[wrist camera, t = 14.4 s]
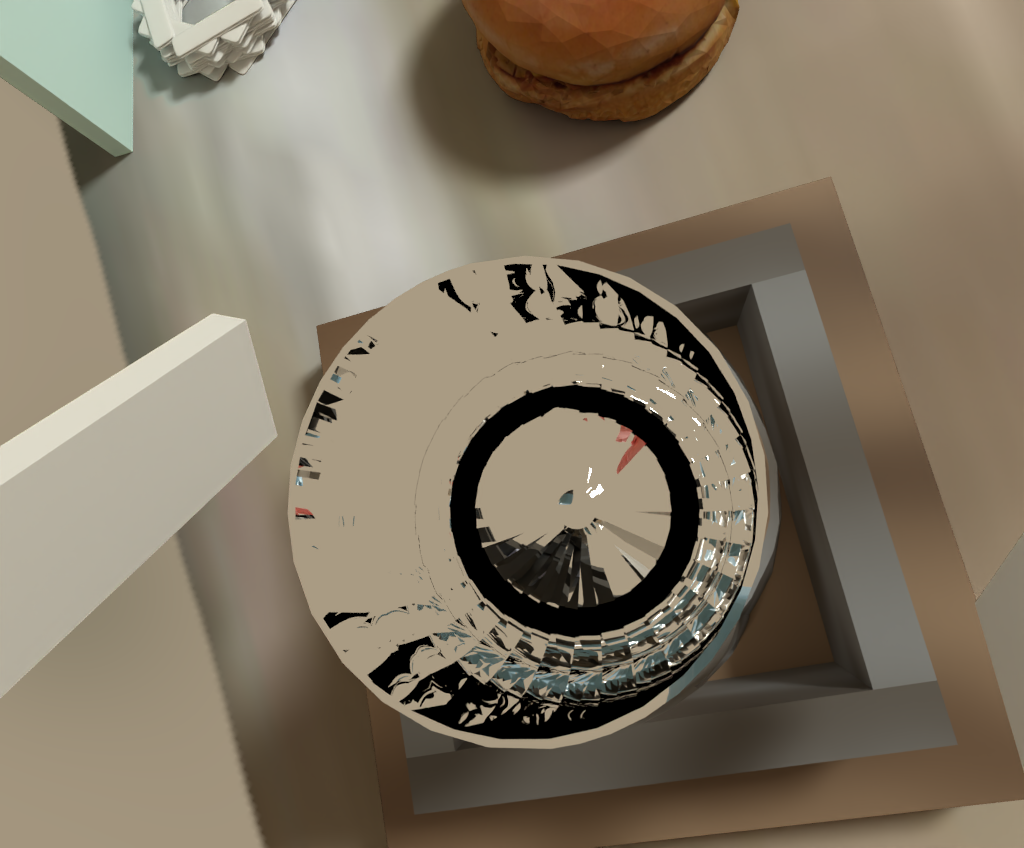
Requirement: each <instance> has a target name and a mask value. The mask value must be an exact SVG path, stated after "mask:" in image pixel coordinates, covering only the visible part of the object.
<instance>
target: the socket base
mask: <svg viewBox="0 0 1024 848" xmlns="http://www.w3.org/2000/svg"><path fill="white" fill-rule="evenodd" d="M552 258H555V259H566V260H578V261H581V262H584V263H587V264H590V265H593V266H596V267H599V268H602V269H606V270H609V271H612V272H615V273H618V274H621V275H624V276H627V277H629V278H631V279H633V280H634V281H636V282H638V283H639V284H641V285H642V286H644V287H646V288H647V289H649V290H651V291H652V292H654V293H655V294H657V295H659V296H660V297H662V298H664V299H665V300H667V301H668V302H670V303H672V304H673V305H675V306H676V307H677V308H678V309H679V310H680V311H681V312H682V313H683V314H684V315H685V316H686V317H687V318H688V319H690V320H691V321H692V322H693V323H694V324H695V325H696V326H698V327H699V328H700V329H701V330H702V331H703V332H704V333H706V334H707V335H708V336H709V337H710V339H711V340H712V341H713V342H714V344H715V345H716V346H717V347H718V348H719V350H720V351H721V352H722V353H723V355H724V356H725V357H726V358H727V360H728V361H729V362H730V363H731V364H732V366H733V367H734V368H735V369H736V371H737V372H738V373H739V375H740V376H741V378H742V380H743V381H744V383H745V386H746V388H747V390H748V392H749V393H750V395H751V397H752V399H753V401H754V402H755V404H756V406H757V408H758V410H759V411H760V413H761V416H762V419H763V422H764V425H765V428H766V431H767V434H768V437H769V440H770V444H771V447H772V450H773V453H774V456H775V459H776V462H777V468H778V477H779V486H780V495H781V509H782V518H781V527H780V536H779V545H778V554H777V560H776V564H775V568H774V571H773V574H772V577H771V579H770V582H769V585H768V588H767V590H766V593H765V596H764V598H763V601H762V604H761V607H760V609H759V612H758V614H757V616H756V618H755V619H754V621H753V622H752V624H751V626H750V627H749V629H748V630H747V632H746V634H745V635H744V637H743V638H742V640H741V641H740V643H739V645H738V646H737V648H736V649H735V651H734V652H733V654H732V655H731V656H730V657H729V658H728V660H727V661H726V662H725V663H724V664H723V665H722V666H721V667H720V668H719V669H718V670H717V671H716V672H715V673H714V674H713V675H712V676H711V677H710V678H709V679H708V681H707V682H706V683H705V684H704V685H703V686H702V687H700V688H699V689H698V690H696V691H695V692H693V693H692V694H691V695H689V696H688V697H687V698H685V699H684V700H682V701H681V702H680V703H678V704H677V705H676V706H674V707H673V708H671V709H670V710H668V711H666V712H664V713H662V714H660V715H658V716H656V717H654V718H652V719H650V720H648V721H646V722H644V723H642V724H640V725H637V726H634V727H631V728H628V729H625V730H622V731H619V732H616V733H612V734H609V735H606V736H603V737H600V738H597V739H593V740H590V741H587V742H584V743H581V744H576V745H570V746H564V747H559V748H553V749H535V748H491V747H485V746H482V745H478V744H475V743H472V742H468V741H465V740H461V739H458V738H455V737H451V736H448V735H444V734H441V733H438V732H434V731H431V730H429V729H427V728H426V727H424V726H422V725H421V724H419V723H417V722H416V721H414V720H412V719H411V718H409V717H407V716H406V715H404V714H402V713H400V712H399V711H397V710H395V709H394V708H392V707H390V706H389V705H387V704H385V703H384V702H382V701H381V700H380V699H379V698H378V697H377V696H376V695H375V694H374V693H373V692H372V691H371V690H370V689H369V688H368V687H367V686H366V692H367V700H368V707H369V714H370V722H371V729H372V736H373V744H374V751H375V758H376V766H377V773H378V780H379V788H380V795H381V802H382V810H383V817H384V824H385V832H386V839H387V846H388V848H595V847H604V846H613V845H622V844H631V843H640V842H649V841H658V840H667V839H675V838H684V837H693V836H702V835H711V834H720V833H729V832H738V831H747V830H756V829H765V828H773V827H782V826H791V825H800V824H809V823H818V822H827V821H836V820H845V819H854V818H863V817H872V816H880V815H889V814H898V813H907V812H916V811H925V810H934V809H943V808H952V807H961V806H970V805H979V804H987V803H996V802H1005V801H1014V800H1023V799H1024V770H1023V767H1022V764H1021V760H1020V757H1019V753H1018V750H1017V746H1016V743H1015V740H1014V736H1013V733H1012V729H1011V726H1010V722H1009V719H1008V716H1007V712H1006V709H1005V705H1004V702H1003V698H1002V695H1001V692H1000V688H999V685H998V681H997V678H996V674H995V671H994V668H993V664H992V661H991V657H990V654H989V650H988V647H987V644H986V640H985V637H984V633H983V630H982V626H981V623H980V620H979V616H978V613H977V609H976V606H975V602H976V598H975V595H974V592H973V589H972V586H971V583H970V580H969V577H968V575H967V572H966V569H965V566H964V563H963V560H962V557H961V554H960V551H959V548H958V545H957V542H956V540H955V537H954V534H953V531H952V528H951V525H950V522H949V519H948V516H947V513H946V510H945V507H944V505H943V502H942V499H941V496H940V493H939V490H938V487H937V484H936V481H935V478H934V475H933V472H932V469H931V467H930V464H929V461H928V458H927V455H926V452H925V449H924V446H923V443H922V440H921V437H920V434H919V432H918V429H917V426H916V423H915V420H914V417H913V414H912V411H911V408H910V405H909V402H908V399H907V397H906V394H905V391H904V388H903V385H902V382H901V379H900V376H899V373H898V370H897V367H896V364H895V362H894V359H893V356H892V353H891V350H890V347H889V344H888V341H887V338H886V335H885V332H884V329H883V326H882V324H881V321H880V318H879V315H878V312H877V309H876V306H875V303H874V300H873V297H872V294H871V291H870V289H869V286H868V283H867V280H866V277H865V274H864V271H863V268H862V265H861V262H860V259H859V256H858V254H857V251H856V248H855V245H854V242H853V239H852V236H851V233H850V230H849V227H848V224H847V221H846V218H845V216H844V213H843V210H842V207H841V204H840V201H839V198H838V195H837V192H836V189H835V186H834V183H833V181H832V178H831V177H828V178H824V179H821V180H817V181H814V182H810V183H807V184H803V185H800V186H797V187H793V188H790V189H786V190H783V191H779V192H776V193H772V194H769V195H766V196H762V197H759V198H755V199H752V200H748V201H745V202H742V203H738V204H735V205H731V206H728V207H724V208H721V209H717V210H714V211H711V212H707V213H704V214H700V215H697V216H693V217H690V218H686V219H683V220H680V221H676V222H673V223H669V224H666V225H662V226H659V227H655V228H652V229H649V230H645V231H642V232H638V233H635V234H631V235H628V236H624V237H621V238H618V239H614V240H611V241H607V242H604V243H600V244H597V245H594V246H590V247H587V248H583V249H580V250H576V251H573V252H569V253H566V254H563V255H559V256H556V257H552ZM384 307H385V306H384ZM384 307H380V308H377V309H373V310H370V311H366V312H363V313H359V314H356V315H353V316H349V317H346V318H342V319H339V320H335V321H332V322H328V323H325V324H322V325H318V326H317V334H318V341H319V348H320V356H321V363H322V370H323V376H324V375H325V373H326V372H327V370H328V369H329V367H330V366H331V364H332V363H333V361H334V360H335V358H336V357H337V356H338V354H339V353H340V351H341V350H342V348H343V347H344V346H345V345H346V344H347V342H348V341H349V340H350V339H351V338H352V337H353V336H354V335H355V334H356V333H357V332H358V331H359V330H360V329H361V327H362V326H363V325H364V324H365V323H366V322H367V321H368V320H369V319H370V318H372V317H373V316H374V315H375V314H377V313H378V312H379V311H380V310H382V309H383V308H384Z"/></svg>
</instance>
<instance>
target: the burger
mask: <svg viewBox="0 0 1024 848" xmlns="http://www.w3.org/2000/svg"><path fill="white" fill-rule="evenodd" d="M462 3H463V5H464V8H465V9H466V11H467V12H468V14H469V15H470V17H471V19H472V20H473V22H474V24H475V26H476V35H477V46H478V49H479V50H480V53H481V56H482V58H483V61H484V64H485V67H486V69H487V71H488V73H489V74H490V75H491V77H492V78H493V79H494V80H495V82H496V83H497V84H498V85H499V87H500V88H501V89H502V90H503V91H504V92H505V93H506V94H507V95H509V96H510V97H511V98H514V99H516V100H519V101H522V102H527V103H536V104H540V105H542V106H543V107H545V108H547V109H550V110H554V111H555V112H560V113H563V114H565V115H567V116H569V117H570V118H573V119H582V120H584V119H587V118H590V119H591V120H593V121H607V120H617V119H620V120H621V121H623V122H627V121H636V120H640V119H644V118H647V117H650V116H652V115H655V114H656V113H658V112H659V111H661V110H662V109H664V108H666V107H667V106H669V105H670V104H672V103H673V102H674V101H676V100H677V99H679V98H680V97H682V96H684V95H685V94H687V93H688V92H689V90H691V89H692V88H693V87H695V86H696V85H697V84H698V83H699V82H700V81H701V80H702V79H703V78H704V77H705V76H706V74H707V73H708V72H709V71H710V70H711V69H712V67H713V66H714V65H715V63H716V62H717V60H718V58H719V56H720V54H721V52H722V50H723V48H724V47H725V45H726V44H727V43H728V40H729V37H730V35H731V32H732V29H733V27H734V24H735V21H736V18H737V15H738V11H739V4H738V0H462Z"/></svg>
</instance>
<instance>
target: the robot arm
mask: <svg viewBox="0 0 1024 848" xmlns="http://www.w3.org/2000/svg"><path fill="white" fill-rule="evenodd" d="M276 437H277V432H276V428H275V425H274V421H273V417H272V414H271V410H270V406H269V403H268V399H267V395H266V392H265V388H264V384H263V381H262V377H261V373H260V370H259V366H258V362H257V359H256V355H255V351H254V347H253V344H252V340H251V336H250V333H249V329H248V325H247V322H246V320H245V319H239V318H234V317H228V316H223V315H218V314H211V315H209V316H208V317H206V318H204V319H203V320H201V321H200V322H198V323H196V324H195V325H193V326H192V327H190V328H188V329H187V330H185V331H184V332H182V333H180V334H179V335H177V336H176V337H174V338H172V339H171V340H169V341H168V342H166V343H164V344H163V345H161V346H160V347H158V348H156V349H155V350H153V351H152V352H150V353H148V354H147V355H145V356H144V357H142V358H140V359H139V360H137V361H136V362H134V363H132V364H131V365H129V366H128V367H126V368H124V369H123V370H121V371H120V372H118V373H116V374H115V375H113V376H112V377H110V378H108V379H107V380H105V381H104V382H102V383H100V384H99V385H97V386H96V387H94V388H92V389H91V390H89V391H88V392H86V393H85V394H83V395H82V396H80V397H78V398H76V399H75V400H73V401H72V402H70V403H68V404H67V405H65V406H64V407H62V408H60V409H59V410H57V411H56V412H54V413H52V414H51V415H49V416H48V417H46V418H45V419H43V420H41V421H40V422H38V423H37V424H35V425H33V426H32V427H30V428H29V429H27V430H26V431H24V432H22V433H20V434H19V435H17V436H16V437H14V438H12V439H11V440H9V441H8V442H6V443H4V444H3V445H1V446H0V698H1V697H2V696H3V695H4V694H5V693H7V692H8V691H9V690H10V689H11V688H12V687H13V686H14V685H15V684H16V683H17V682H18V681H19V680H20V679H21V678H22V677H23V676H25V674H27V673H28V672H29V671H30V670H31V669H32V668H33V667H34V666H35V665H36V664H37V663H38V662H39V661H40V660H41V659H42V658H44V656H46V655H47V654H48V653H49V652H50V651H51V650H52V649H53V648H54V647H55V646H56V645H57V644H58V643H59V642H60V641H61V640H62V639H64V638H65V637H66V636H67V635H68V634H69V633H70V632H71V631H72V630H73V629H74V628H75V627H76V626H77V625H78V624H79V623H81V621H83V620H84V619H85V618H86V617H87V616H88V615H89V614H90V613H91V612H92V611H93V610H94V609H95V608H96V607H97V606H99V605H100V604H101V603H102V602H103V601H104V600H105V599H106V598H107V597H108V596H109V595H110V594H111V593H112V592H113V591H114V590H115V589H116V588H118V587H119V586H120V585H121V584H122V583H123V582H124V581H125V580H126V579H127V578H128V577H129V576H130V575H131V574H132V573H133V572H134V571H135V570H136V569H138V568H139V567H140V566H141V565H142V564H143V563H144V562H145V561H146V560H147V559H148V558H149V557H150V556H151V555H152V554H153V553H154V552H156V551H157V550H158V549H159V548H160V547H161V546H162V545H163V544H164V543H165V542H166V541H167V540H168V539H169V538H170V537H171V536H172V535H174V534H175V533H176V532H177V531H178V530H179V529H180V528H181V527H182V526H183V525H184V524H185V523H186V522H187V521H188V520H189V519H190V518H192V517H193V516H194V515H195V514H196V513H197V512H198V511H199V510H200V509H201V508H202V507H203V506H204V505H205V504H206V503H207V502H208V501H209V500H211V499H212V498H213V497H214V496H215V495H216V494H217V493H218V492H219V491H220V490H221V489H222V488H223V487H224V486H225V485H226V484H227V483H228V482H230V481H231V480H232V479H233V478H234V477H235V476H236V475H237V474H238V473H239V472H240V471H241V470H242V469H243V468H244V467H245V466H246V465H248V464H249V463H250V462H251V461H252V460H253V459H254V458H255V457H256V456H257V455H258V454H259V453H260V452H261V451H262V450H263V449H264V448H265V447H267V446H268V445H269V444H270V443H271V442H272V441H273V440H274V439H275V438H276ZM975 606H976V609H977V613H978V616H979V620H980V623H981V626H982V630H983V633H984V637H985V640H986V644H987V647H988V650H989V654H990V657H991V661H992V664H993V668H994V671H995V674H996V678H997V681H998V685H999V688H1000V692H1001V695H1002V698H1003V702H1004V705H1005V709H1006V712H1007V716H1008V719H1009V722H1010V726H1011V729H1012V733H1013V736H1014V740H1015V743H1016V746H1017V750H1018V753H1019V757H1020V760H1021V764H1022V767H1023V770H1024V533H1023V534H1022V536H1021V537H1020V539H1019V540H1018V542H1017V543H1016V544H1015V546H1014V547H1013V549H1012V550H1011V552H1010V553H1009V555H1008V556H1007V558H1006V559H1005V560H1004V562H1003V563H1002V565H1001V566H1000V568H999V569H998V571H997V572H996V573H995V575H994V576H993V578H992V579H991V581H990V582H989V584H988V585H987V586H986V588H985V589H984V591H983V592H982V594H981V595H980V597H979V598H978V599H977V601H976V602H975Z"/></svg>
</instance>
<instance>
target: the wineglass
mask: <svg viewBox="0 0 1024 848" xmlns="http://www.w3.org/2000/svg"><path fill="white" fill-rule="evenodd" d="M781 518H782V509H781V495H780V486H779V477H778V468H777V462H776V459H775V456H774V453H773V450H772V447H771V444H770V440H769V437H768V434H767V431H766V428H765V425H764V422H763V419H762V416H761V413H760V411H759V410H758V408H757V406H756V404H755V402H754V401H753V399H752V397H751V395H750V393H749V392H748V390H747V388H746V386H745V383H744V381H743V380H742V378H741V376H740V375H739V373H738V372H737V371H736V369H735V368H734V367H733V366H732V364H731V363H730V362H729V361H728V360H727V358H726V357H725V356H724V355H723V353H722V352H721V351H720V350H719V348H718V347H717V346H716V345H715V344H714V342H713V341H712V340H711V339H710V337H709V336H708V335H707V334H706V333H704V332H703V331H702V330H701V329H700V328H699V327H698V326H696V325H695V324H694V323H693V322H692V321H691V320H690V319H688V318H687V317H686V316H685V315H684V314H683V313H682V312H681V311H680V310H679V309H678V308H677V307H676V306H675V305H673V304H672V303H670V302H668V301H667V300H665V299H664V298H662V297H660V296H659V295H657V294H655V293H654V292H652V291H651V290H649V289H647V288H646V287H644V286H642V285H641V284H639V283H638V282H636V281H634V280H633V279H631V278H629V277H627V276H624V275H621V274H618V273H615V272H612V271H609V270H606V269H602V268H599V267H596V266H593V265H590V264H587V263H584V262H581V261H578V260H566V259H555V258H544V257H533V256H520V257H513V258H506V259H499V260H492V261H485V262H478V263H471V264H468V265H465V266H462V267H459V268H455V269H452V270H449V271H446V272H444V273H442V274H440V275H437V276H435V277H433V278H431V279H428V280H426V281H424V282H422V283H420V284H418V285H417V286H415V287H413V288H412V289H410V290H409V291H407V292H405V293H404V294H402V295H400V296H399V297H397V298H395V299H394V300H393V301H392V302H390V303H389V304H388V305H387V306H385V307H384V308H383V309H382V310H380V311H379V312H378V313H377V314H375V315H374V316H373V317H372V318H370V319H369V320H368V321H367V322H366V323H365V324H364V325H363V326H362V327H361V329H360V330H359V331H358V332H357V333H356V334H355V335H354V336H353V337H352V338H351V339H350V340H349V341H348V342H347V344H346V345H345V346H344V347H343V348H342V350H341V351H340V353H339V354H338V356H337V357H336V358H335V360H334V361H333V363H332V364H331V366H330V367H329V369H328V370H327V372H326V373H325V375H324V376H323V378H322V379H321V381H320V383H319V385H318V387H317V389H316V392H315V394H314V396H313V398H312V400H311V402H310V405H309V407H308V409H307V411H306V413H305V416H304V418H303V420H302V423H301V427H300V431H299V435H298V439H297V443H296V447H295V451H294V454H293V458H292V462H291V469H290V484H289V499H288V521H289V529H290V537H291V545H292V553H293V561H294V564H295V567H296V570H297V573H298V576H299V579H300V582H301V585H302V588H303V591H304V593H305V596H306V599H307V602H308V605H309V608H310V611H311V614H312V615H313V617H314V618H315V620H316V622H317V623H318V625H319V626H320V628H321V629H322V631H323V633H324V634H325V636H326V637H327V639H328V641H329V642H330V644H331V645H332V647H333V649H334V650H335V652H336V653H337V655H338V656H339V658H340V660H341V661H342V663H343V664H344V665H345V666H346V667H347V668H348V669H349V670H350V671H351V672H352V673H353V674H354V675H355V676H356V677H357V678H358V679H360V680H361V681H362V682H363V683H364V684H365V685H366V686H367V687H368V688H369V689H370V690H371V691H372V692H373V693H374V694H375V695H376V696H377V697H378V698H379V699H380V700H381V701H382V702H384V703H385V704H387V705H389V706H390V707H392V708H394V709H395V710H397V711H399V712H400V713H402V714H404V715H406V716H407V717H409V718H411V719H412V720H414V721H416V722H417V723H419V724H421V725H422V726H424V727H426V728H427V729H429V730H431V731H434V732H438V733H441V734H444V735H448V736H451V737H455V738H458V739H461V740H465V741H468V742H472V743H475V744H478V745H482V746H485V747H491V748H535V749H553V748H559V747H564V746H570V745H576V744H581V743H584V742H587V741H590V740H593V739H597V738H600V737H603V736H606V735H609V734H612V733H616V732H619V731H622V730H625V729H628V728H631V727H634V726H637V725H640V724H642V723H644V722H646V721H648V720H650V719H652V718H654V717H656V716H658V715H660V714H662V713H664V712H666V711H668V710H670V709H671V708H673V707H674V706H676V705H677V704H678V703H680V702H681V701H682V700H684V699H685V698H687V697H688V696H689V695H691V694H692V693H693V692H695V691H696V690H698V689H699V688H700V687H702V686H703V685H704V684H705V683H706V682H707V681H708V679H709V678H710V677H711V676H712V675H713V674H714V673H715V672H716V671H717V670H718V669H719V668H720V667H721V666H722V665H723V664H724V663H725V662H726V661H727V660H728V658H729V657H730V656H731V655H732V654H733V652H734V651H735V649H736V648H737V646H738V645H739V643H740V641H741V640H742V638H743V637H744V635H745V634H746V632H747V630H748V629H749V627H750V626H751V624H752V622H753V621H754V619H755V618H756V616H757V614H758V612H759V609H760V607H761V604H762V601H763V598H764V596H765V593H766V590H767V588H768V585H769V582H770V579H771V577H772V574H773V571H774V568H775V564H776V560H777V554H778V545H779V536H780V527H781Z"/></svg>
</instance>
